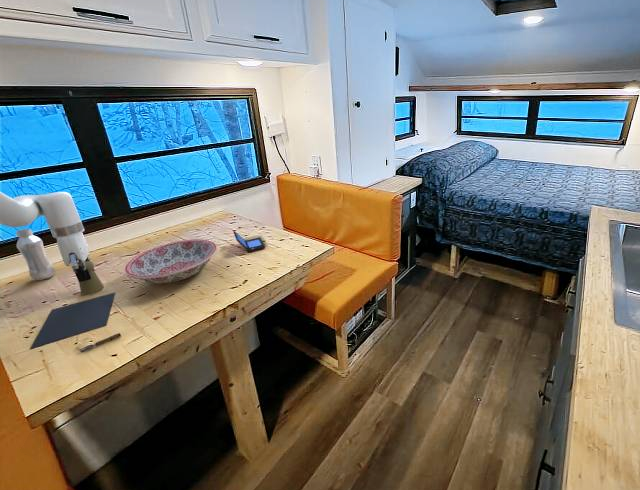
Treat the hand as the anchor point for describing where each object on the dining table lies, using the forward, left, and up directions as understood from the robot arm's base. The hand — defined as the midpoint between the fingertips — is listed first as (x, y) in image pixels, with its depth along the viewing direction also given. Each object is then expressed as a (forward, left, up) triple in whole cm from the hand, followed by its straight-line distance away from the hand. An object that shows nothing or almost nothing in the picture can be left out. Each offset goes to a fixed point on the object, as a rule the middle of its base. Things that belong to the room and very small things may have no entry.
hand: (87, 275), depth 107 cm
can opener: (+7, -36, -6) cm, 37 cm away
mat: (-1, -17, -6) cm, 18 cm away
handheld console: (+54, +2, -6) cm, 54 cm away
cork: (0, 0, -6) cm, 6 cm away
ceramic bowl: (+26, -6, -6) cm, 27 cm away
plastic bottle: (-17, +22, -6) cm, 28 cm away
